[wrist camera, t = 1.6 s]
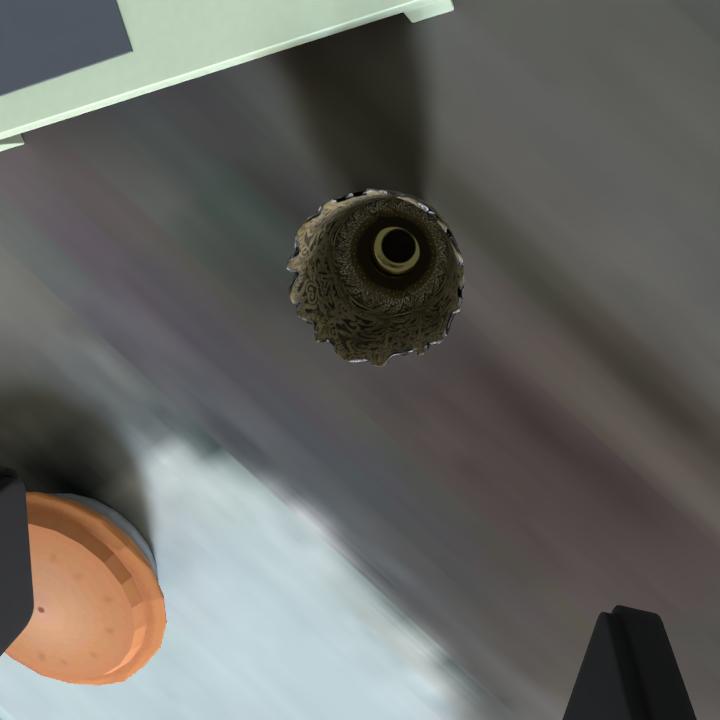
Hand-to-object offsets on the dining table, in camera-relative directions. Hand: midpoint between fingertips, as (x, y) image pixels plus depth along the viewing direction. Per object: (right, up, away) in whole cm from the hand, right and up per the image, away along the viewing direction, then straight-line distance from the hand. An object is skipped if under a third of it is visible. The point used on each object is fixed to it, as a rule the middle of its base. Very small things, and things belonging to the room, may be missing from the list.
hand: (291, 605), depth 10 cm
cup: (+3, +10, +24) cm, 26 cm away
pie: (-18, -10, +36) cm, 42 cm away
